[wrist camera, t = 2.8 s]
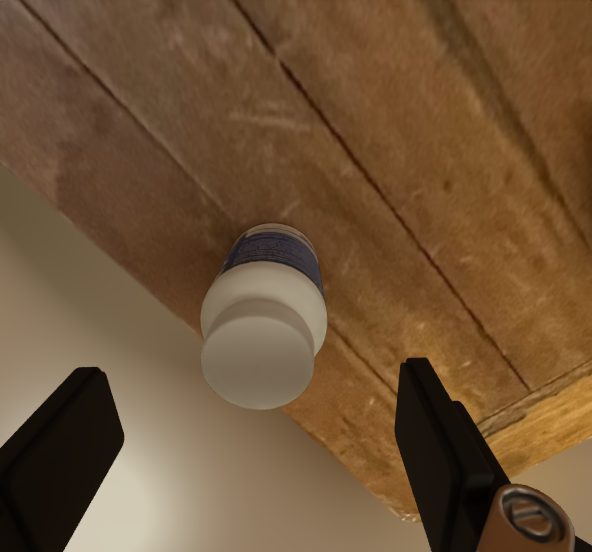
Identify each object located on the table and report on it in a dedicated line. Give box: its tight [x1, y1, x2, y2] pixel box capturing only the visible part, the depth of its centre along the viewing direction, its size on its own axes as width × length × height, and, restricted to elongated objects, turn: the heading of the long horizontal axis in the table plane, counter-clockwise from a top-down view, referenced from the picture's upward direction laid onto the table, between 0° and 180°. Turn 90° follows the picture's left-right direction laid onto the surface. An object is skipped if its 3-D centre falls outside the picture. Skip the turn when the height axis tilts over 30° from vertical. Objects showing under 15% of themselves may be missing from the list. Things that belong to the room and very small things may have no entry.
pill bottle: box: [200, 223, 327, 409], centre depth 16 cm, size 5×5×10 cm
